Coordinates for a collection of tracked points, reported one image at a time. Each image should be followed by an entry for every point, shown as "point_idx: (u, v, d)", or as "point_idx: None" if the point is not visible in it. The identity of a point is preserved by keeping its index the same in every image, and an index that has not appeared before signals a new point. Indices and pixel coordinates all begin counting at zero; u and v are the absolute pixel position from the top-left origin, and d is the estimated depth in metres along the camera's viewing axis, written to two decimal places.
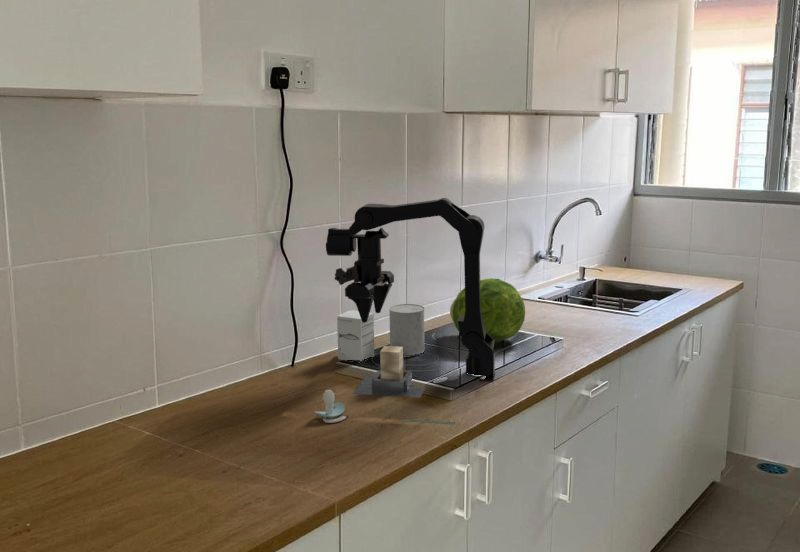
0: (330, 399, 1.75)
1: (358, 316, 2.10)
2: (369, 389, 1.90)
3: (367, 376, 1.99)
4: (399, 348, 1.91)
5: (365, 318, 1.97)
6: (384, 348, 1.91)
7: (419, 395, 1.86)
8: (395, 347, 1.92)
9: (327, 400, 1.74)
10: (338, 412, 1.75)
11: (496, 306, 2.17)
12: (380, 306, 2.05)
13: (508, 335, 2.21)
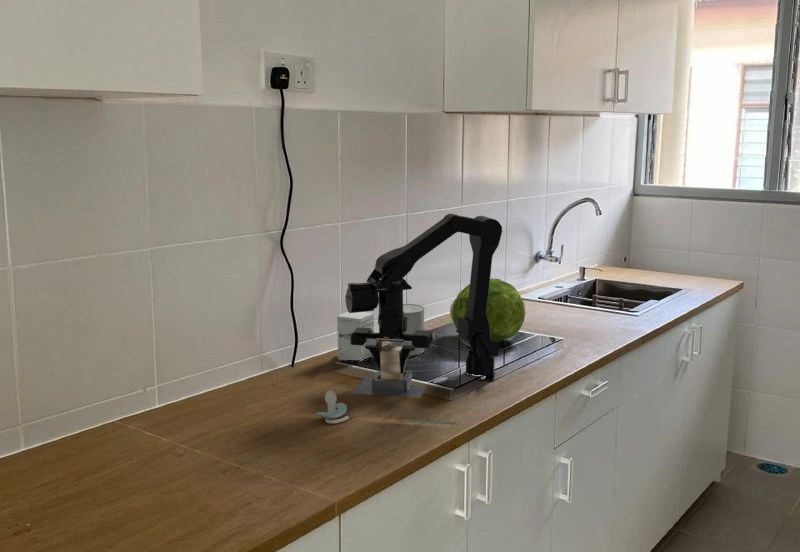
0: (332, 400, 1.74)
1: (358, 316, 2.10)
2: (369, 389, 1.90)
3: (367, 376, 1.99)
4: (399, 348, 1.91)
5: None
6: (384, 348, 1.91)
7: (419, 395, 1.86)
8: (395, 347, 1.92)
9: (329, 401, 1.74)
10: (340, 413, 1.75)
11: (496, 306, 2.17)
12: None
13: (508, 335, 2.21)
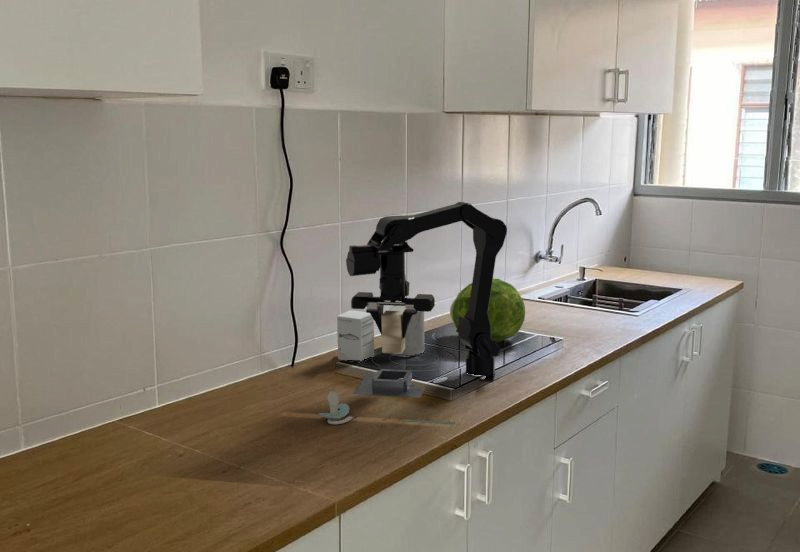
0: (335, 400, 1.74)
1: (358, 316, 2.10)
2: (369, 389, 1.90)
3: (367, 376, 1.99)
4: (401, 312, 1.88)
5: None
6: (385, 312, 1.88)
7: (419, 395, 1.86)
8: (397, 311, 1.89)
9: (332, 401, 1.73)
10: (343, 413, 1.75)
11: (496, 306, 2.17)
12: (402, 331, 1.87)
13: (508, 335, 2.21)
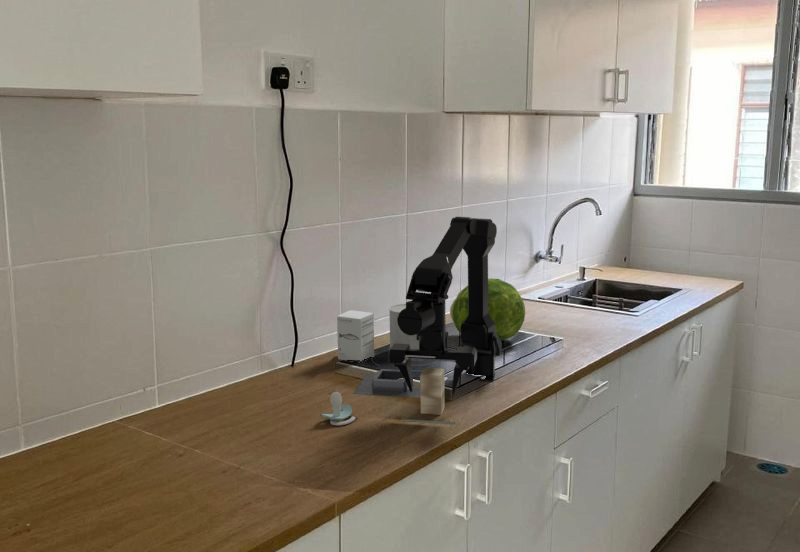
0: (337, 401, 1.73)
1: (358, 316, 2.10)
2: (369, 389, 1.90)
3: (367, 376, 1.99)
4: (440, 370, 1.75)
5: None
6: (424, 370, 1.75)
7: (419, 395, 1.86)
8: (436, 369, 1.76)
9: (334, 402, 1.73)
10: (345, 414, 1.74)
11: (496, 306, 2.17)
12: None
13: (508, 335, 2.21)
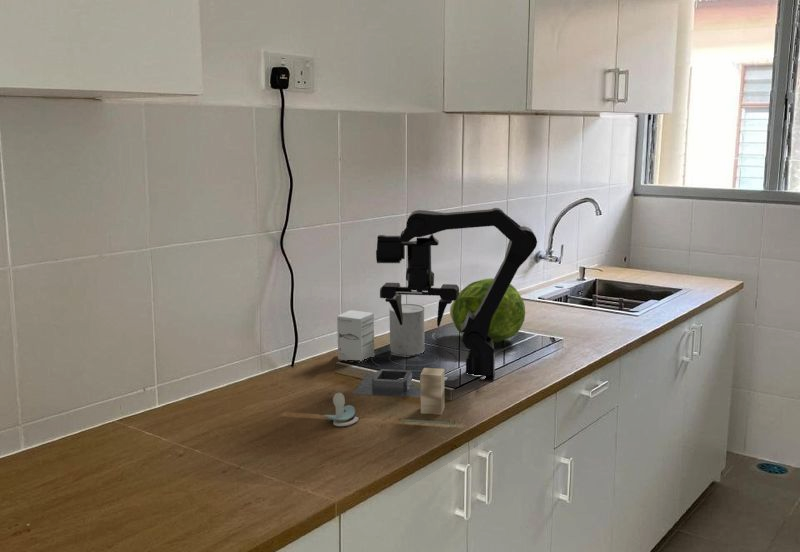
0: (340, 402, 1.73)
1: (358, 316, 2.10)
2: (369, 389, 1.90)
3: (367, 376, 1.99)
4: (440, 370, 1.75)
5: None
6: (424, 370, 1.75)
7: (419, 395, 1.86)
8: (436, 369, 1.76)
9: (337, 403, 1.72)
10: (348, 415, 1.74)
11: None
12: (437, 320, 1.96)
13: (508, 335, 2.21)
